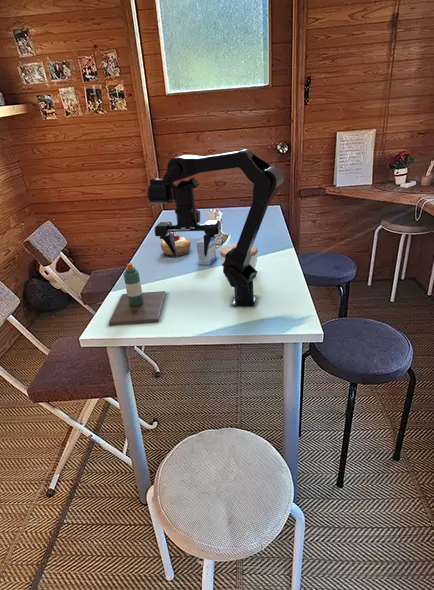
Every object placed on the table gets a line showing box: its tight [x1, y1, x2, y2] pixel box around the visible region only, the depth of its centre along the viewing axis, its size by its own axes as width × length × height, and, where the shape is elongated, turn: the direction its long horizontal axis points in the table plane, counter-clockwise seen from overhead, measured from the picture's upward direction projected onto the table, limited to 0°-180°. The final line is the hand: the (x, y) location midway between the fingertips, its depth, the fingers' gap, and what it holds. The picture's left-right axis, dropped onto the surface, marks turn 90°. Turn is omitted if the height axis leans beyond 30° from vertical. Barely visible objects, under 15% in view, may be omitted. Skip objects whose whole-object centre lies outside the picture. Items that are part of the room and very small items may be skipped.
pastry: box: [159, 232, 191, 257], centre depth 175 cm, size 12×12×9 cm
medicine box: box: [196, 236, 217, 266], centre depth 163 cm, size 8×4×9 cm, turn 161°
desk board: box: [108, 290, 167, 326], centre depth 132 cm, size 20×14×1 cm
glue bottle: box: [123, 262, 144, 306], centre depth 131 cm, size 4×4×12 cm
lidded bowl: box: [219, 243, 258, 270], centre depth 148 cm, size 13×13×11 cm
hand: (190, 256), depth 131 cm, fingers open, 9 cm apart
